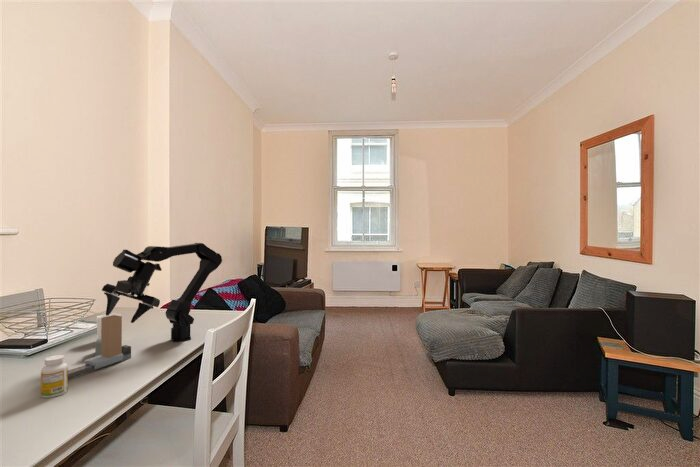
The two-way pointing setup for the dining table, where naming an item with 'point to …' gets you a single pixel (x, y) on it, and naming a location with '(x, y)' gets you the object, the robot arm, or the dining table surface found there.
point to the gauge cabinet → (98, 347)
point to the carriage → (109, 342)
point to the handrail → (89, 368)
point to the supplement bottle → (54, 377)
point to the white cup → (100, 322)
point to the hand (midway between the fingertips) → (119, 319)
